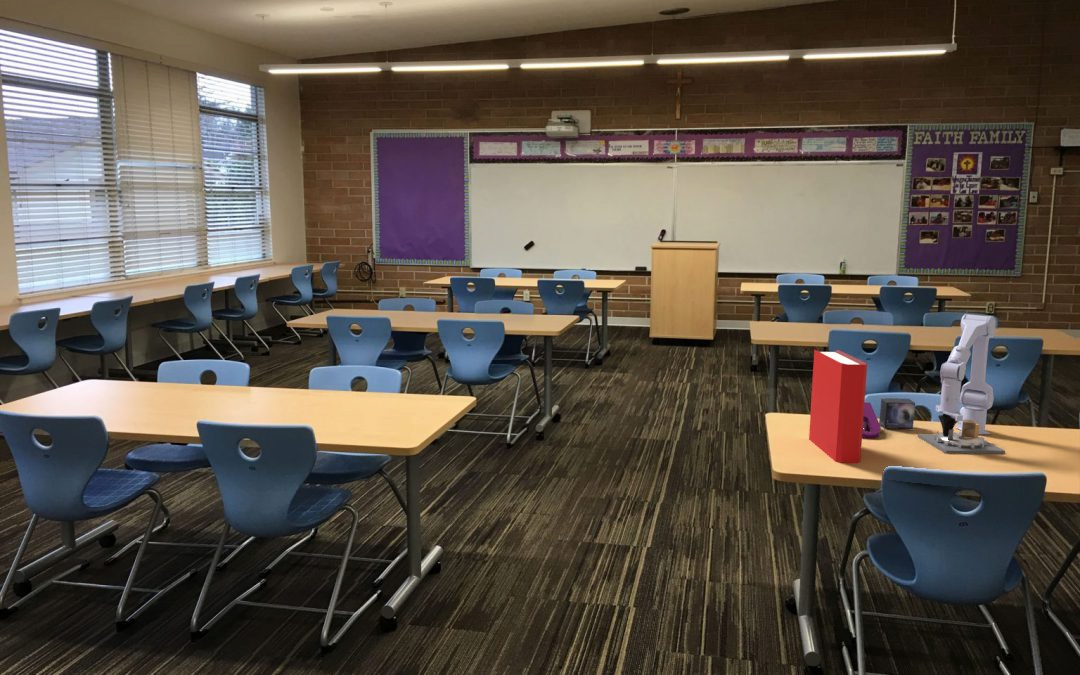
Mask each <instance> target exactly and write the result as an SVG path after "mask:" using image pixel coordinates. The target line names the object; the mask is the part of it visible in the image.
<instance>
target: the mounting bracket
mask: <svg viewBox="0 0 1080 675" xmlns="http://www.w3.org/2000/svg"><path fill="white" fill-rule="evenodd" d="M863 428H864V429H863V431H862V439H873V440H874V439H877V438H878V437H879V436H880V434H881V429H882V427H881V426H880V424H879V420H878V418H877V415H876V413H875V411H874V408H873V406H872V403H871V402H865V404H864V417H863ZM867 430H869V431H867Z"/></svg>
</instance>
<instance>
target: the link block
mask: <svg viewBox="0 0 1080 675" xmlns="http://www.w3.org/2000/svg"><path fill="white" fill-rule="evenodd" d="M975 427H976V421H973V420H964V419H963V425H962V431H961V432H962V436H965V437H975Z"/></svg>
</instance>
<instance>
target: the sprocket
mask: <svg viewBox="0 0 1080 675" xmlns="http://www.w3.org/2000/svg"><path fill="white" fill-rule="evenodd" d="M937 434H938V435H937ZM937 434H936V433H935V435H934V439H936V441H937V442H942V443H944V444H945V445H952V446H958V447H959V448H961V447H969V448H975V447H981V448H983V447H984V445H987V442H988V440H985V437H982V436H981V437H980V436H978V437H977V436H975V437H965V436H962V431H960V432H955V430H954V428H953V429H951V428H949V429H948V437H944V436H943V432H939V431H938V432H937Z"/></svg>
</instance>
